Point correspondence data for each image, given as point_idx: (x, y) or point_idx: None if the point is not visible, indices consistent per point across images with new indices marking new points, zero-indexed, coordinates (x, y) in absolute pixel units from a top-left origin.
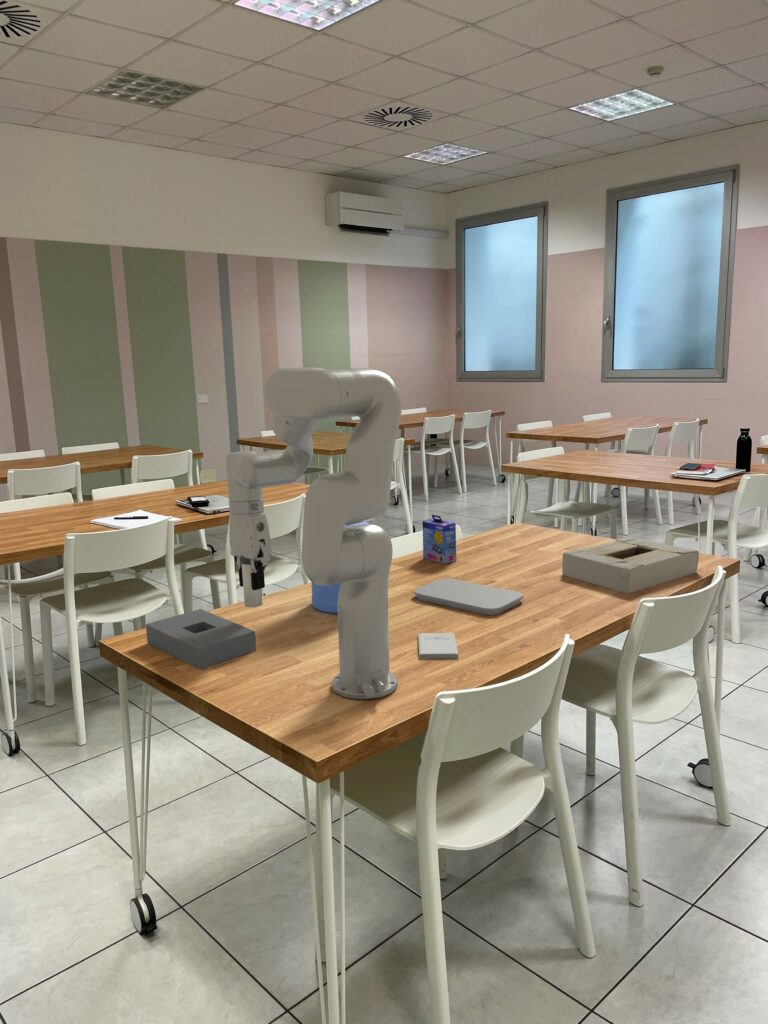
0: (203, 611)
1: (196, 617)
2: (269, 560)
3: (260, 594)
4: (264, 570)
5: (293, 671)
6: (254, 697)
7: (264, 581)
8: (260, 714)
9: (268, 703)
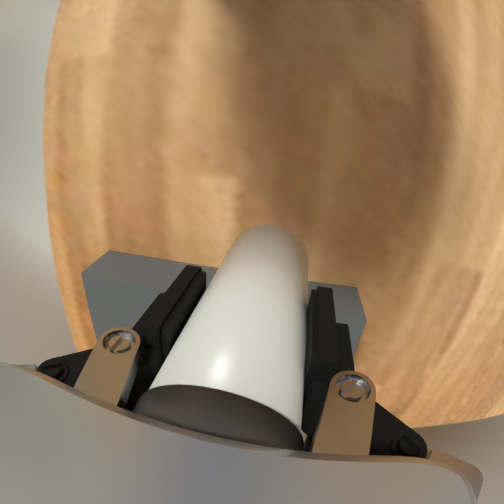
0: (102, 282)
1: (134, 323)
2: (475, 479)
3: (306, 278)
4: (364, 378)
5: (483, 314)
6: (458, 395)
7: (333, 305)
8: (479, 407)
9: (480, 392)
